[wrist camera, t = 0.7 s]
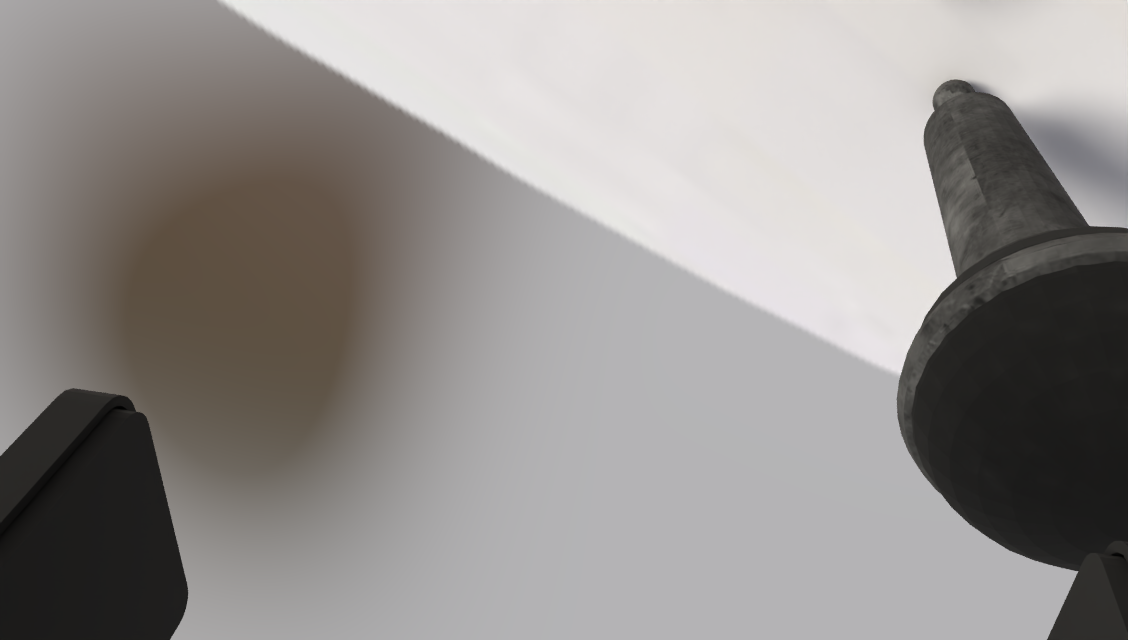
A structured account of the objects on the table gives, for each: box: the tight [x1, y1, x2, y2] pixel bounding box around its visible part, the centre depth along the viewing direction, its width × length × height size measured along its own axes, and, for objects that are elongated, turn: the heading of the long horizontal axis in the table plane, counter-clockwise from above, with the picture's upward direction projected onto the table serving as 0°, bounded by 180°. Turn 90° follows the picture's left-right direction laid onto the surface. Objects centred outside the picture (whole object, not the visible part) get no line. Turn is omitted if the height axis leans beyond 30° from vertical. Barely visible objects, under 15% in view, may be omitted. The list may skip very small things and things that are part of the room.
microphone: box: [897, 80, 1128, 571], centre depth 25 cm, size 7×7×20 cm
